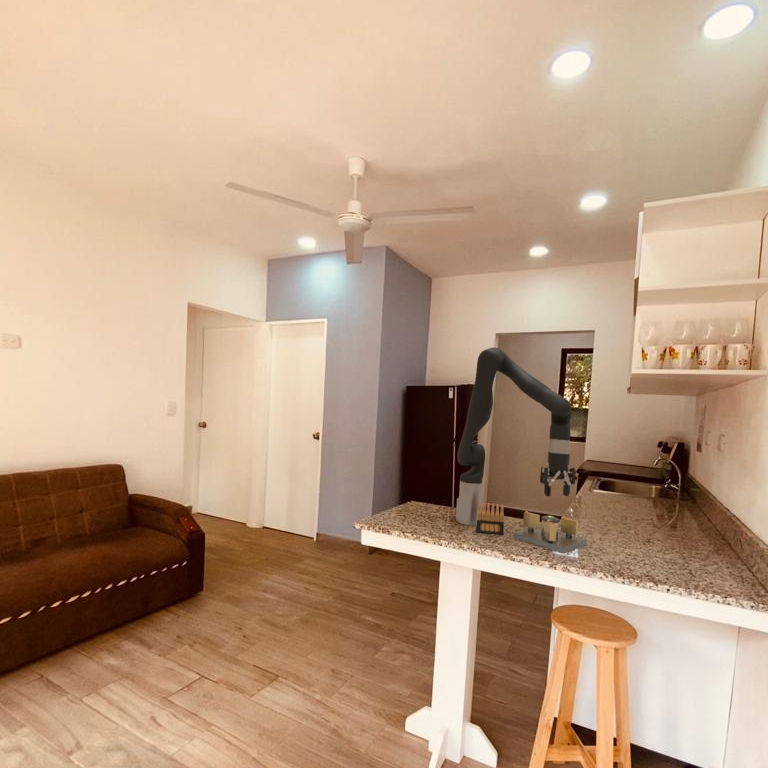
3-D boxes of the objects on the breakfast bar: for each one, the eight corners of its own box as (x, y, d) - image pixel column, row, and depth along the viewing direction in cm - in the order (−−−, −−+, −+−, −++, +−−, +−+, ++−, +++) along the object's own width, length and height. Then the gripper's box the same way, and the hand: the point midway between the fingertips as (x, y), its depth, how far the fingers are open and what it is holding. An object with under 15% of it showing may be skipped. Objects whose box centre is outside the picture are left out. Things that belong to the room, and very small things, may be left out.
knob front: (549, 543, 156) (550, 523, 156) (543, 539, 161) (544, 519, 162) (555, 544, 156) (556, 524, 156) (549, 539, 161) (550, 520, 161)
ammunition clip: (475, 533, 170) (477, 502, 171) (475, 531, 172) (476, 501, 173) (503, 535, 170) (505, 504, 170) (502, 534, 171) (504, 503, 172)
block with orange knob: (535, 532, 169) (536, 514, 170) (523, 528, 174) (523, 510, 174) (538, 531, 171) (539, 513, 171) (526, 528, 175) (526, 510, 175)
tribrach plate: (513, 537, 167) (514, 513, 168) (537, 530, 179) (538, 508, 180) (563, 553, 152) (564, 526, 153) (586, 545, 164) (587, 520, 165)
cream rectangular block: (575, 538, 165) (576, 519, 165) (560, 535, 168) (561, 516, 168) (577, 537, 166) (578, 518, 167) (562, 534, 170) (563, 515, 170)
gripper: (550, 452, 156) (548, 498, 155) (581, 453, 161) (579, 497, 160) (536, 450, 163) (534, 493, 162) (566, 450, 168) (564, 493, 167)
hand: (556, 495), depth 161 cm, fingers open, 8 cm apart
